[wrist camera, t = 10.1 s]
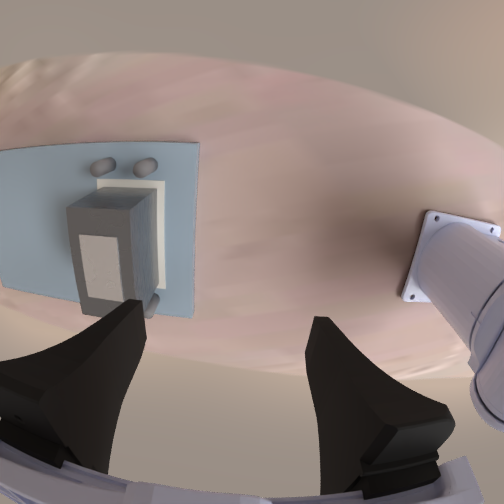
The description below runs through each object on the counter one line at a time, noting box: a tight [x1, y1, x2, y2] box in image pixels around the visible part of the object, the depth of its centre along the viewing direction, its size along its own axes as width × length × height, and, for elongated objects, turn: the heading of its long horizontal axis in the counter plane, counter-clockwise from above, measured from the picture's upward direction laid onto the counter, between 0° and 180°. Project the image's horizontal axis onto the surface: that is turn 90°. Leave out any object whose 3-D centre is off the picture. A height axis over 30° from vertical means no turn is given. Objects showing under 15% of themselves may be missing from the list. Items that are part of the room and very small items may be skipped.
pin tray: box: [0, 141, 200, 319], centre depth 20 cm, size 20×13×3 cm, turn 84°
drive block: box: [66, 187, 159, 318], centre depth 18 cm, size 4×7×5 cm, turn 175°
